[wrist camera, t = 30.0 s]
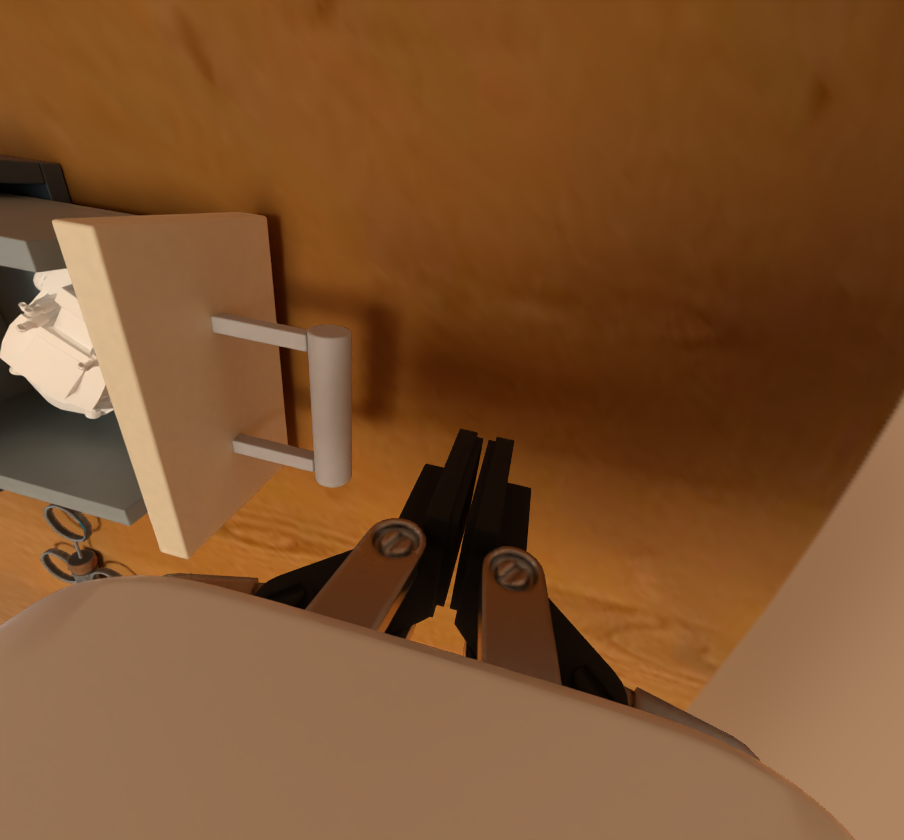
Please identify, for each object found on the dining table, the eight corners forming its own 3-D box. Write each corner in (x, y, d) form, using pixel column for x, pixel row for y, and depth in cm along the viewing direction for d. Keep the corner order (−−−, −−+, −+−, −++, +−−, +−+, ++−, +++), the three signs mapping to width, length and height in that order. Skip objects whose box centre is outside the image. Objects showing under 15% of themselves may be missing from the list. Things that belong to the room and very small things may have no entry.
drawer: (390, 235, 15) (282, 259, 9) (379, 483, 20) (309, 596, 15) (-42, 165, 17) (-347, 148, 11) (54, 402, 23) (-116, 471, 17)
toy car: (216, 315, 16) (147, 370, 13) (144, 413, 20) (78, 474, 17) (92, 219, 14) (-24, 256, 11) (38, 348, 18) (-59, 403, 15)
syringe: (85, 626, 38) (67, 643, 37) (27, 480, 29) (-2, 495, 27) (160, 655, 37) (143, 674, 36) (123, 515, 28) (100, 532, 27)
